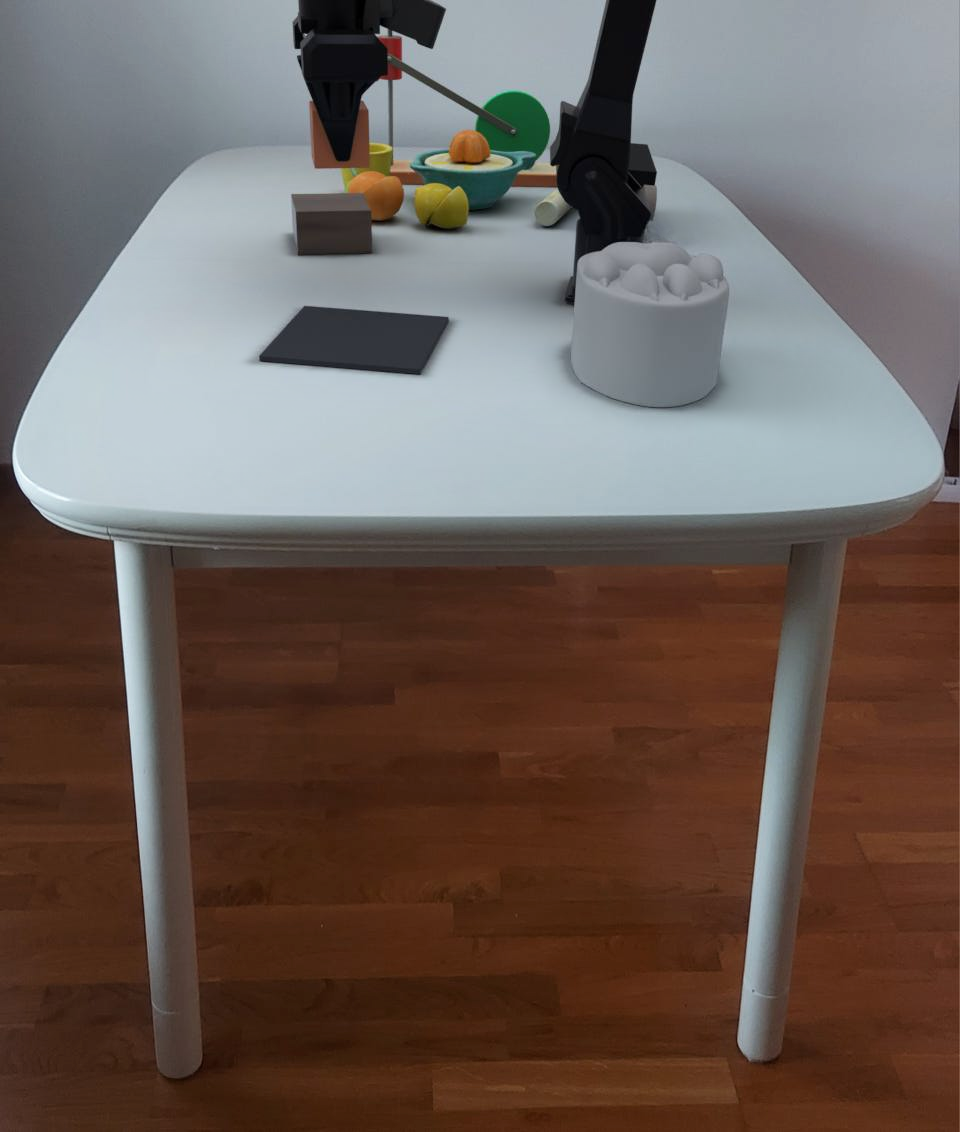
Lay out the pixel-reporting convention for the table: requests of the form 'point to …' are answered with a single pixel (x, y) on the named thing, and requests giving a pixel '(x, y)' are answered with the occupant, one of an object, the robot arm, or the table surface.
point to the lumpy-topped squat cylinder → (649, 323)
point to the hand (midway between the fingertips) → (340, 155)
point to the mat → (357, 339)
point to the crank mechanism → (481, 122)
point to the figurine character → (644, 173)
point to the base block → (331, 223)
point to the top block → (323, 150)
